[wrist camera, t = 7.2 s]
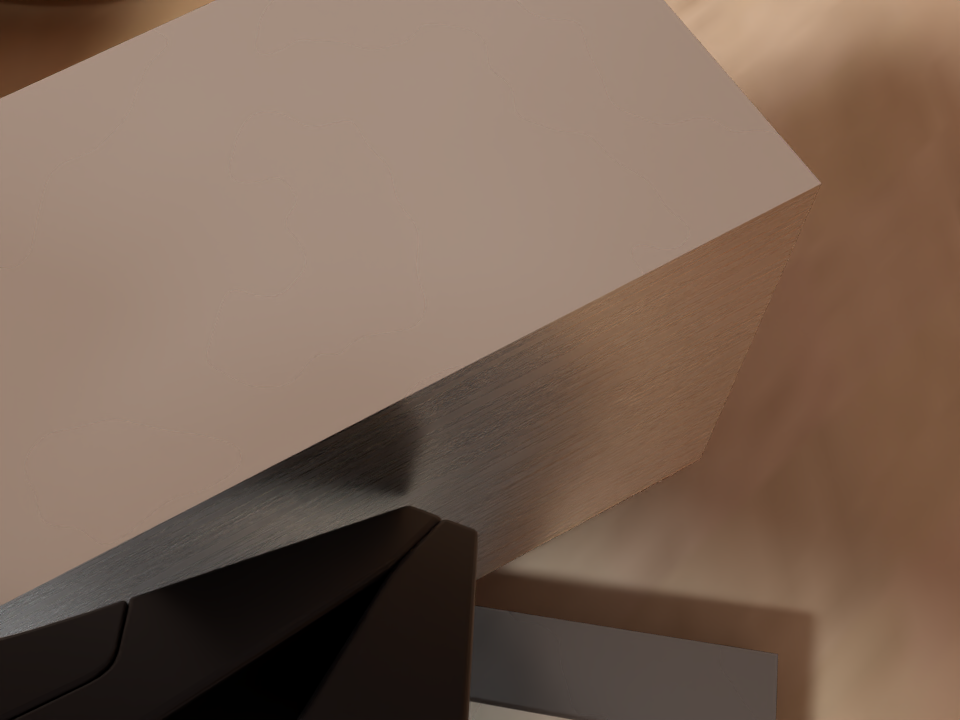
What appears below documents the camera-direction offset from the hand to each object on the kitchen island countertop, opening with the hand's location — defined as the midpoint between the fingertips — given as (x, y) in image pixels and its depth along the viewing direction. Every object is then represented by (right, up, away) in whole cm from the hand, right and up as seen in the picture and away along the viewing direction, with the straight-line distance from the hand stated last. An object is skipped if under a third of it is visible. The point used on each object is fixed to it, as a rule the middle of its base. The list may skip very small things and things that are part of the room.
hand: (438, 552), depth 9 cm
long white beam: (-4, -1, +6) cm, 7 cm away
